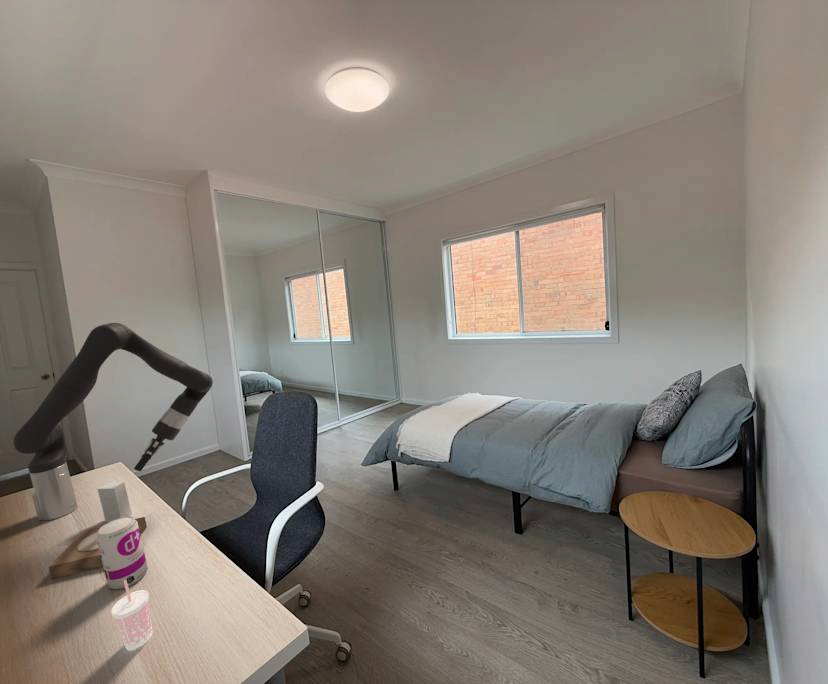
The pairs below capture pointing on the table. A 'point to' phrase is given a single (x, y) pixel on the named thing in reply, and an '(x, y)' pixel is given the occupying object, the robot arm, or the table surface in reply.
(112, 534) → the supplement can
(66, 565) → the block
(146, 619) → the beverage cup
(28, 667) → the table surface
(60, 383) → the robot arm
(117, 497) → the skincare box
